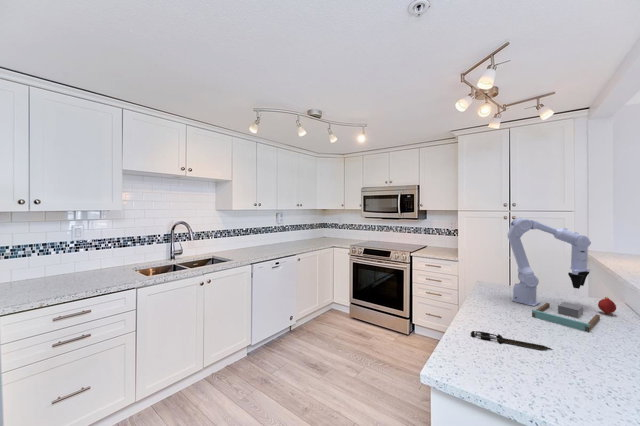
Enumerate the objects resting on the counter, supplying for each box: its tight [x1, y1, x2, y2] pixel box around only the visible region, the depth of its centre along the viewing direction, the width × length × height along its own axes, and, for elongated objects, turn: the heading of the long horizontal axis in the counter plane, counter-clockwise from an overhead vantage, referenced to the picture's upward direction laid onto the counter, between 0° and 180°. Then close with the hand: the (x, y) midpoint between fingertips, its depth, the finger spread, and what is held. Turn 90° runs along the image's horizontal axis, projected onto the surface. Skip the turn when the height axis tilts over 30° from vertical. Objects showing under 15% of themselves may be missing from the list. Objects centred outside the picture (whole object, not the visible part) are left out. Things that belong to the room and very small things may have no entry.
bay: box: [531, 302, 601, 333], centre depth 122 cm, size 19×20×3 cm
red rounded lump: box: [597, 296, 617, 315], centre depth 126 cm, size 6×6×8 cm
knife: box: [470, 330, 554, 351], centre depth 101 cm, size 25×6×1 cm, turn 57°
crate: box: [557, 301, 584, 319], centre depth 127 cm, size 7×8×4 cm
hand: (578, 286), depth 134 cm, fingers open, 7 cm apart
